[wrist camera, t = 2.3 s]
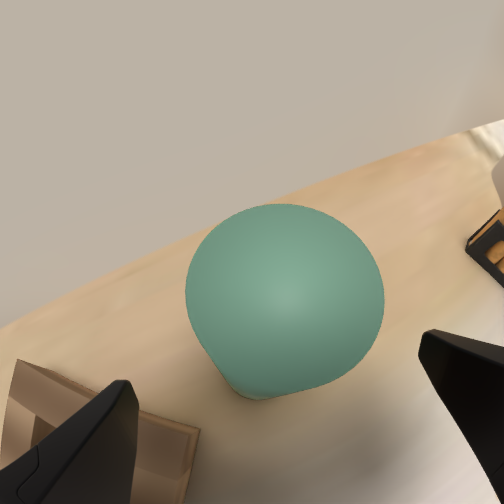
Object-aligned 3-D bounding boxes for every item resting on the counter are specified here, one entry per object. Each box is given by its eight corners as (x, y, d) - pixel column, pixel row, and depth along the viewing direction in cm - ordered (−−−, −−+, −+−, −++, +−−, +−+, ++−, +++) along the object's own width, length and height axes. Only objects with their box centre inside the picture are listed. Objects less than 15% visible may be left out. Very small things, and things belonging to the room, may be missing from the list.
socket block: (170, 562, 9) (155, 589, 5) (32, 494, 10) (-1, 500, 6) (200, 428, 14) (188, 435, 11) (52, 370, 15) (17, 358, 12)
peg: (285, 404, 15) (377, 400, 4) (217, 392, 16) (160, 363, 5) (296, 342, 17) (381, 222, 6) (232, 329, 18) (215, 191, 7)
